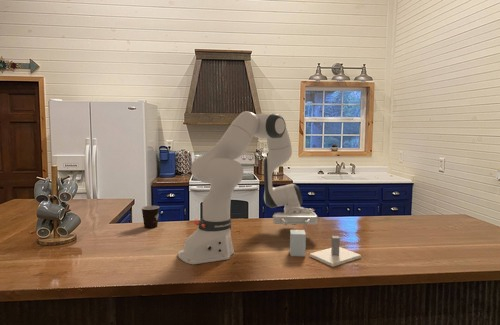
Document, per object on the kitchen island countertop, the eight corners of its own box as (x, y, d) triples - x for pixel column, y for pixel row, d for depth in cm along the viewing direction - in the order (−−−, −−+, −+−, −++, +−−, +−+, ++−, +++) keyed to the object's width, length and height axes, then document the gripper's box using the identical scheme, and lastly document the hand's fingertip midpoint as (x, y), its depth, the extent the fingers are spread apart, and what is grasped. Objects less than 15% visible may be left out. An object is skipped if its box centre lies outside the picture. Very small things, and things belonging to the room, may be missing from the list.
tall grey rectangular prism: (290, 256, 136) (291, 234, 135) (289, 250, 141) (290, 229, 140) (305, 256, 135) (305, 234, 134) (303, 251, 141) (304, 230, 140)
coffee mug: (149, 230, 168) (148, 210, 167) (138, 227, 173) (138, 207, 172) (167, 225, 177) (167, 206, 176) (157, 222, 182) (156, 203, 181)
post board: (332, 266, 125) (333, 245, 125) (309, 256, 135) (310, 236, 134) (360, 257, 134) (361, 237, 133) (337, 248, 144) (338, 229, 143)
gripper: (272, 208, 164) (272, 216, 150) (315, 208, 163) (319, 216, 149) (272, 221, 164) (272, 230, 151) (315, 221, 163) (319, 230, 150)
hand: (296, 223), depth 150 cm, fingers open, 8 cm apart
